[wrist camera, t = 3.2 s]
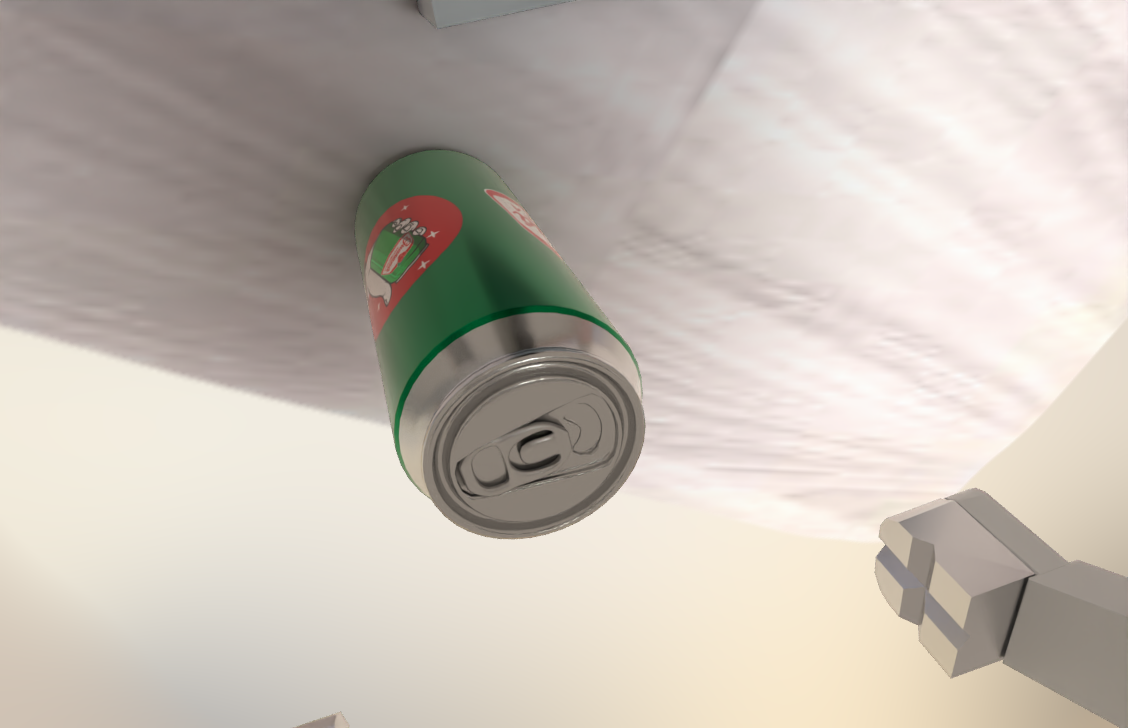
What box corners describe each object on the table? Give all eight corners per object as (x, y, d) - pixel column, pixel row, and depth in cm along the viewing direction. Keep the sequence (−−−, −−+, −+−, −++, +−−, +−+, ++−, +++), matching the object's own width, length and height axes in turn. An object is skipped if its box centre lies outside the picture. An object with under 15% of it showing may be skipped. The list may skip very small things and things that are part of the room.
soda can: (529, 268, 25) (678, 498, 16) (385, 316, 25) (448, 589, 15) (490, 122, 22) (645, 294, 13) (326, 173, 22) (357, 396, 12)
